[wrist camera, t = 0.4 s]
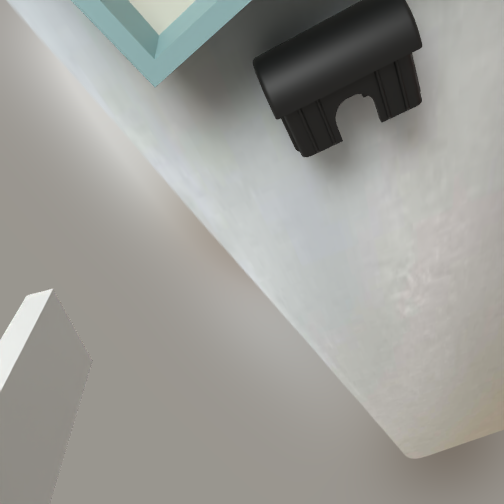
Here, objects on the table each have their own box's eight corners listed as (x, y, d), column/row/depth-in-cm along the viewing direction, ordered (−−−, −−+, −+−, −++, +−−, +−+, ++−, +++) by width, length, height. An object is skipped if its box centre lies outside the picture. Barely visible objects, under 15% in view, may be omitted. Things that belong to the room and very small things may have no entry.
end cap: (377, -27, 30) (413, -4, 25) (400, 67, 35) (435, 102, 30) (246, 45, 33) (256, 79, 28) (284, 125, 37) (298, 166, 32)
